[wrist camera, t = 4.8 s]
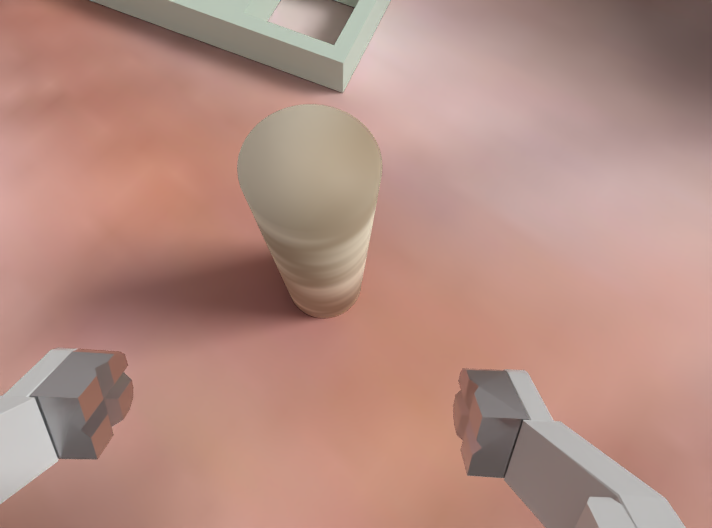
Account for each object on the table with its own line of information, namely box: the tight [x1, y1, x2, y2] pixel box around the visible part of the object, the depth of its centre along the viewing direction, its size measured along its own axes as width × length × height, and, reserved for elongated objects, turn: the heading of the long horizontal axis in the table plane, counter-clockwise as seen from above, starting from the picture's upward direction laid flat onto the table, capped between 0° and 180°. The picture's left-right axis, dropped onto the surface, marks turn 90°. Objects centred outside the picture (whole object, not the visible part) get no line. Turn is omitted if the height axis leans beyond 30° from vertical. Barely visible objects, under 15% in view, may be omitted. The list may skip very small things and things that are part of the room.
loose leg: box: [237, 104, 382, 318], centre depth 17 cm, size 4×4×12 cm
